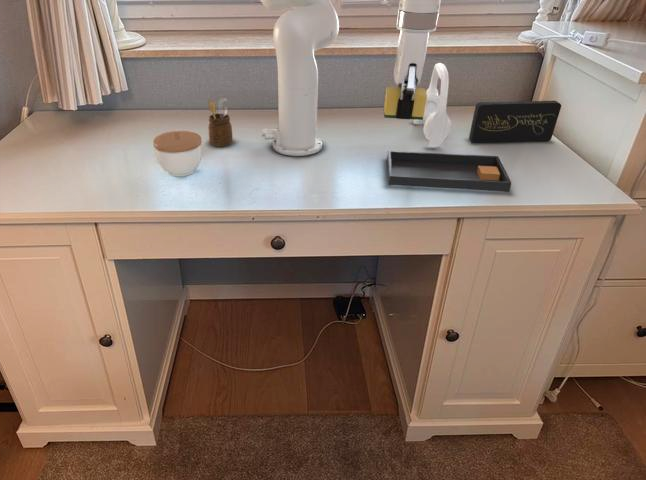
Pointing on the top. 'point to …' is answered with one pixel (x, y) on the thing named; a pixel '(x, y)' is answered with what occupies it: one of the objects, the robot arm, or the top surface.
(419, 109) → the sponge
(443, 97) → the headset
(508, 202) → the top surface
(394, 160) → the black shallow rectangular tray
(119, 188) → the top surface
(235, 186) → the top surface
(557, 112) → the nameplate
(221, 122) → the utensil holder
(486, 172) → the orange square block
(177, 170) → the trinket box
